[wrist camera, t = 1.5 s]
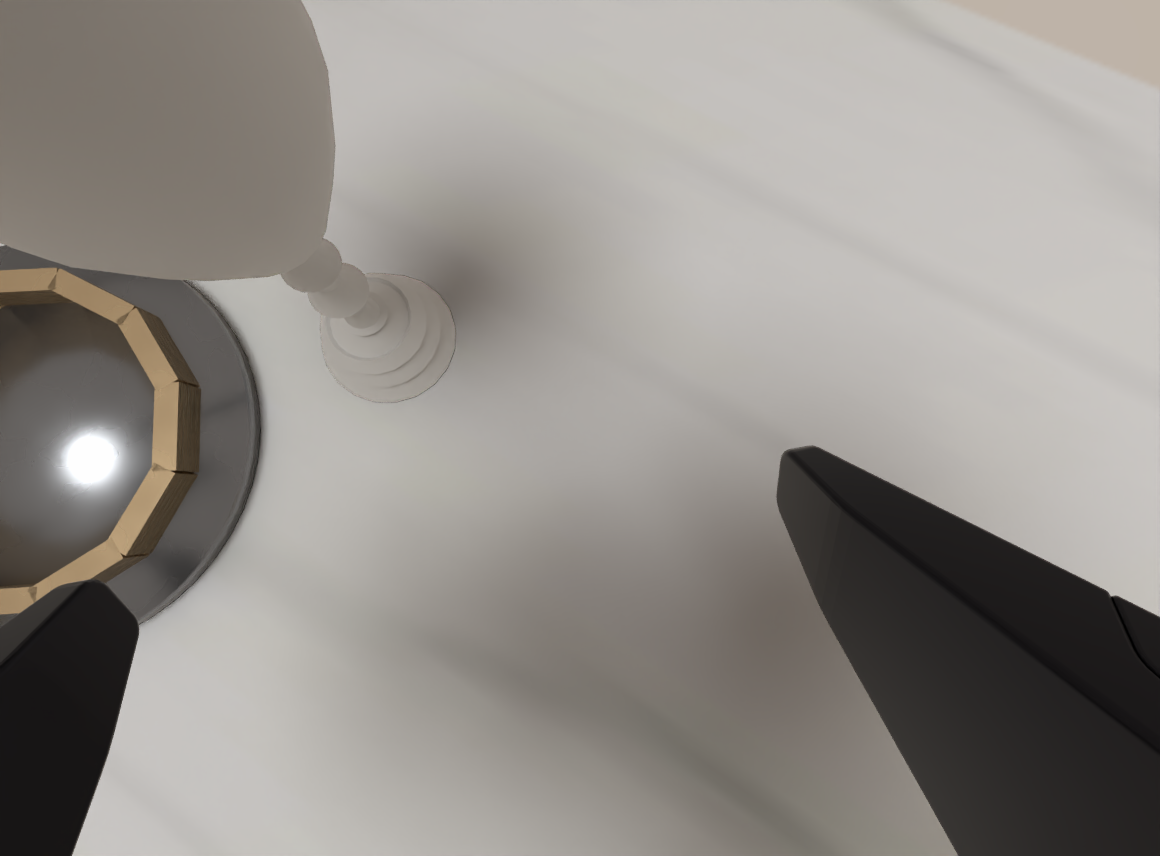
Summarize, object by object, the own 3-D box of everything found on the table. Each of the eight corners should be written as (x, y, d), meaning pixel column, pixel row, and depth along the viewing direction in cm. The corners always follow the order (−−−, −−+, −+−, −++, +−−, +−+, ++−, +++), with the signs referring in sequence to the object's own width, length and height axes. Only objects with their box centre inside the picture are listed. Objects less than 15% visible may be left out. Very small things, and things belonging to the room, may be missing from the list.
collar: (116, 731, 20) (66, 756, 18) (-245, 535, 21) (-332, 538, 19) (334, 354, 22) (311, 339, 20) (-3, 185, 22) (-58, 154, 20)
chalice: (500, 270, 22) (235, -648, 5) (465, 441, 21) (-38, 124, 4) (315, 238, 22) (-668, -802, 5) (272, 407, 22) (-1161, -69, 4)
